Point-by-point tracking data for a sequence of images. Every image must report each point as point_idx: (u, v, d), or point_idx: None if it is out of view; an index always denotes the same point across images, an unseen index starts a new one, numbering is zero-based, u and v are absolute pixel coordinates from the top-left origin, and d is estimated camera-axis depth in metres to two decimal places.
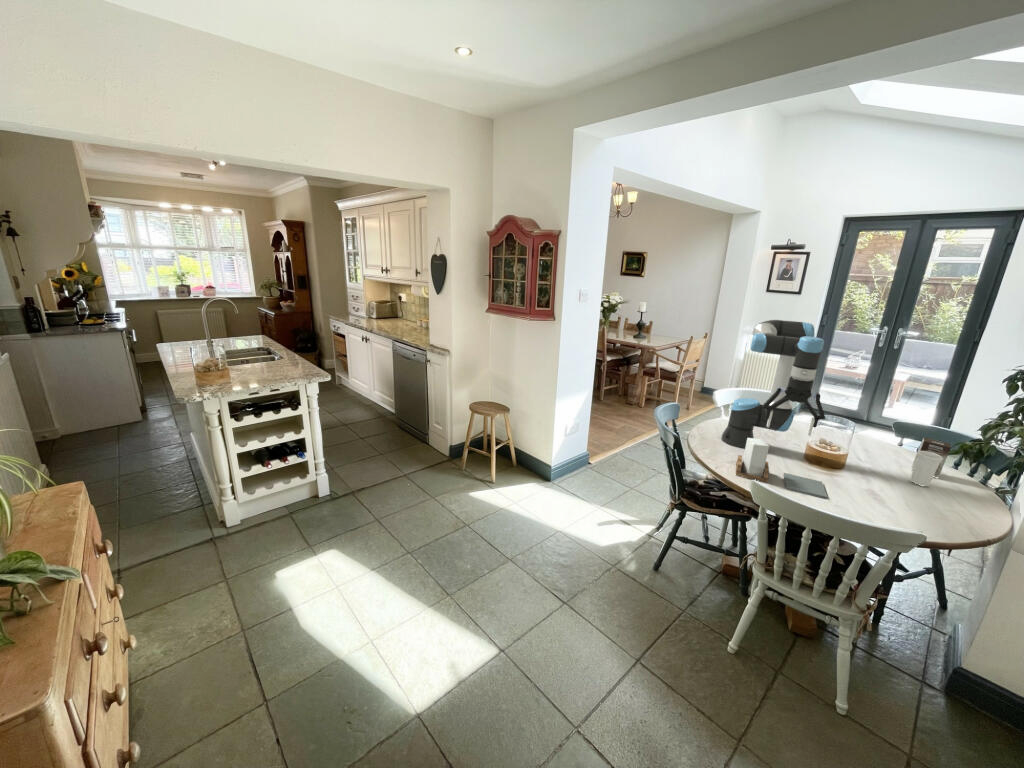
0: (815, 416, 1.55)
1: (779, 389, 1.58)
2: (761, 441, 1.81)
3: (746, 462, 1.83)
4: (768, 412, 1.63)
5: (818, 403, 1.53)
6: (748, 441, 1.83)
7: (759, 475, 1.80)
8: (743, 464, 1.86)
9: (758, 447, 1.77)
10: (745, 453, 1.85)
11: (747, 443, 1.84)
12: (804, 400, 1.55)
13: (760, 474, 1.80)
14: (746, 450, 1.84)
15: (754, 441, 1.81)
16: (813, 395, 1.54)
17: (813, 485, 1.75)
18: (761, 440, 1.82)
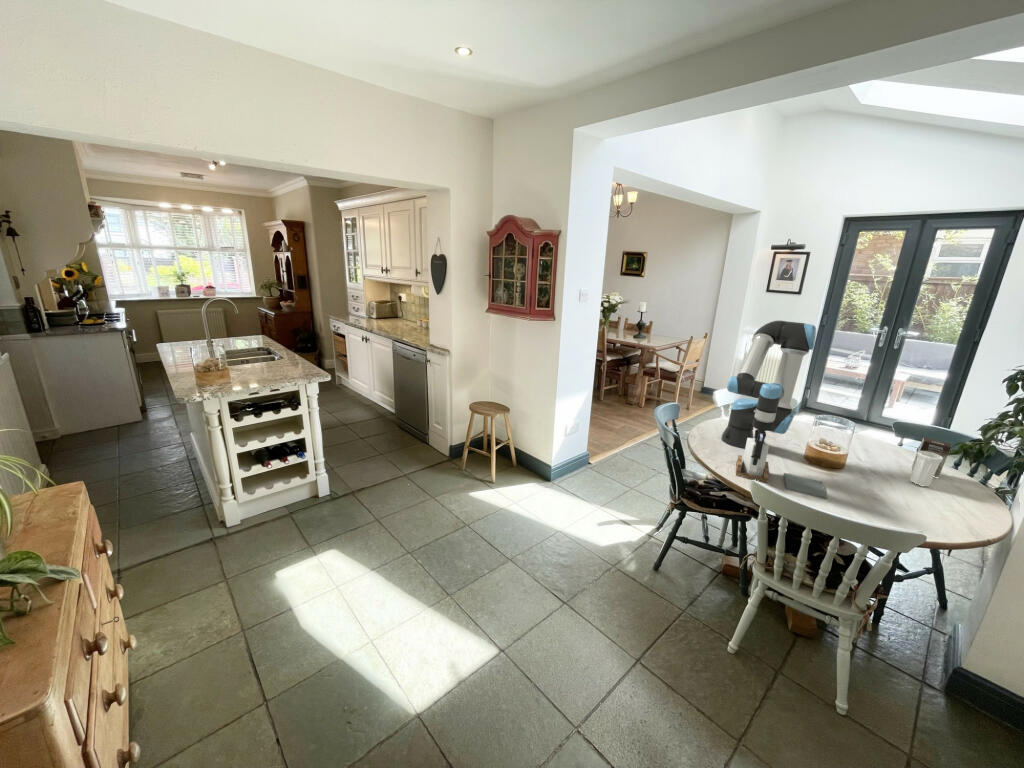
0: (753, 454, 1.78)
1: None
2: None
3: (746, 462, 1.83)
4: None
5: (756, 443, 1.75)
6: (748, 441, 1.83)
7: (759, 475, 1.80)
8: (743, 464, 1.86)
9: None
10: (745, 453, 1.85)
11: (747, 443, 1.84)
12: (755, 437, 1.79)
13: (761, 474, 1.80)
14: (746, 450, 1.84)
15: (754, 441, 1.81)
16: None
17: (813, 485, 1.75)
18: None
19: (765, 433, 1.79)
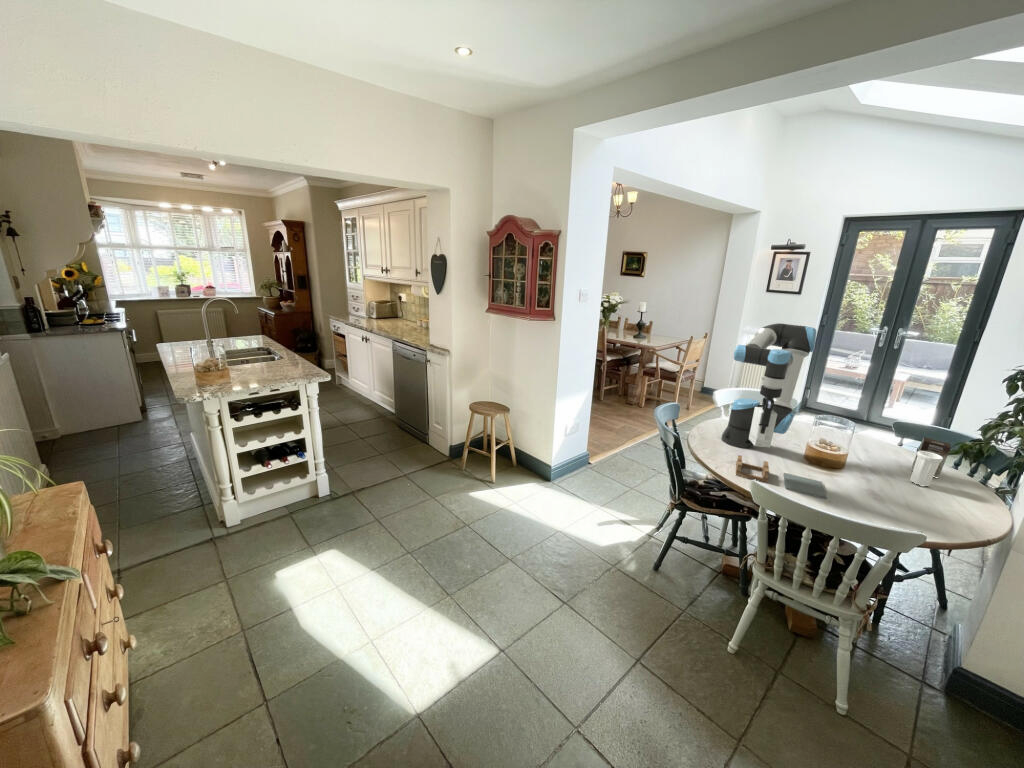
0: (761, 422, 1.73)
1: (764, 395, 1.80)
2: None
3: (753, 432, 1.79)
4: None
5: (764, 410, 1.71)
6: (756, 410, 1.79)
7: (767, 444, 1.76)
8: (750, 434, 1.82)
9: None
10: (752, 422, 1.81)
11: (755, 412, 1.80)
12: (763, 405, 1.74)
13: (768, 443, 1.76)
14: (754, 419, 1.80)
15: (762, 409, 1.77)
16: None
17: (813, 485, 1.75)
18: None
19: (773, 401, 1.75)
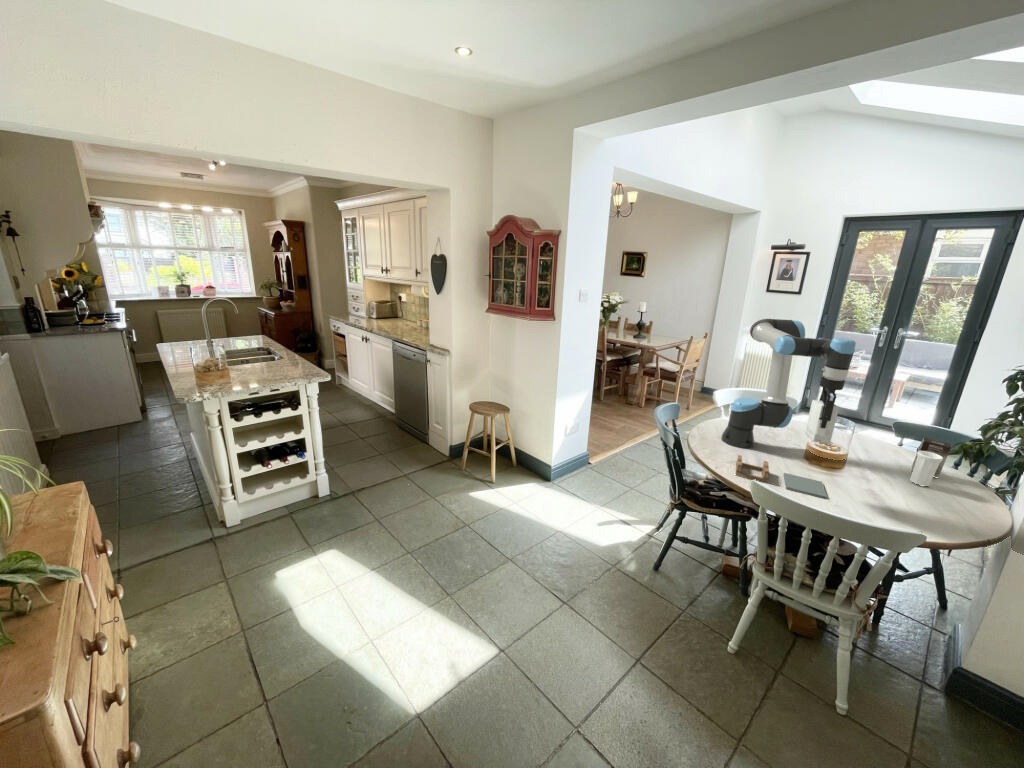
0: None
1: (823, 388, 1.69)
2: None
3: (811, 427, 1.68)
4: None
5: (826, 403, 1.60)
6: (814, 403, 1.68)
7: (827, 440, 1.65)
8: (807, 429, 1.71)
9: None
10: (810, 417, 1.70)
11: (812, 406, 1.69)
12: (823, 398, 1.63)
13: (829, 439, 1.65)
14: (811, 413, 1.69)
15: (821, 402, 1.66)
16: None
17: (813, 485, 1.75)
18: None
19: None
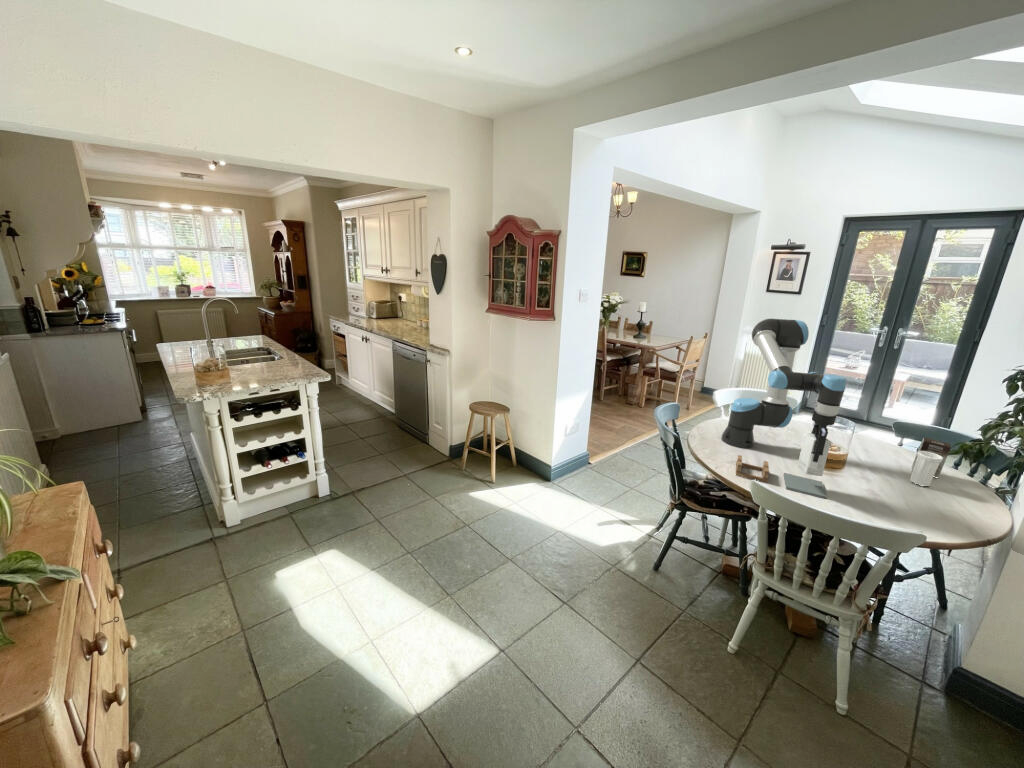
0: (814, 450, 1.66)
1: (815, 421, 1.74)
2: None
3: (804, 459, 1.72)
4: None
5: (818, 438, 1.64)
6: (806, 436, 1.72)
7: (819, 473, 1.69)
8: (800, 461, 1.75)
9: None
10: (802, 449, 1.74)
11: (805, 439, 1.73)
12: (815, 432, 1.68)
13: (821, 472, 1.69)
14: (804, 446, 1.73)
15: (813, 436, 1.70)
16: None
17: (813, 485, 1.75)
18: None
19: None
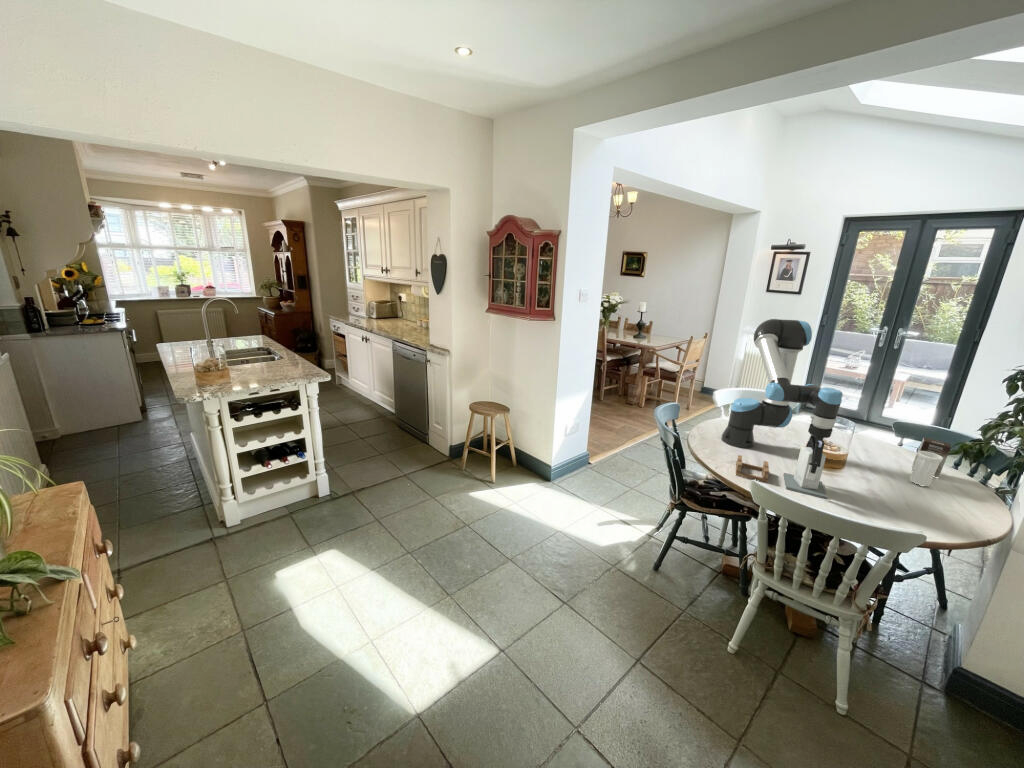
0: (811, 461, 1.66)
1: None
2: None
3: (799, 472, 1.75)
4: None
5: (815, 449, 1.65)
6: (802, 450, 1.74)
7: (814, 486, 1.71)
8: (796, 474, 1.78)
9: None
10: (799, 462, 1.76)
11: (801, 452, 1.75)
12: (812, 444, 1.69)
13: (816, 485, 1.71)
14: (800, 459, 1.75)
15: (809, 450, 1.72)
16: None
17: None
18: None
19: None
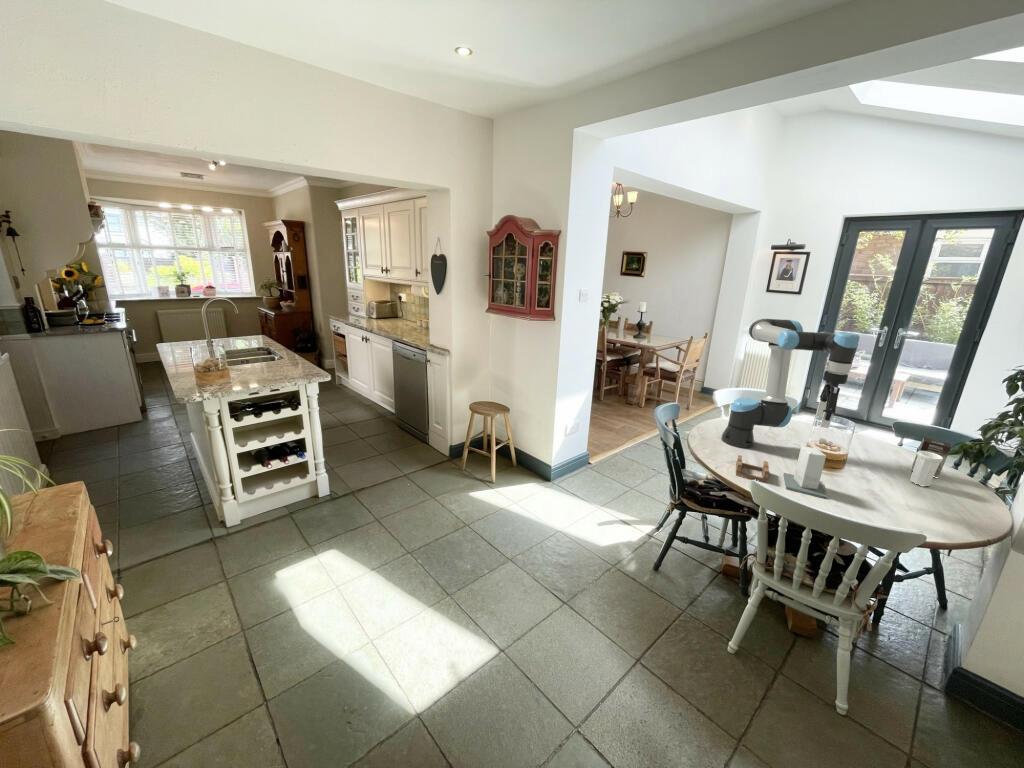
0: (826, 408, 1.61)
1: (826, 380, 1.70)
2: (817, 450, 1.72)
3: (799, 472, 1.75)
4: None
5: (829, 396, 1.60)
6: (802, 450, 1.74)
7: (814, 486, 1.71)
8: (796, 474, 1.78)
9: (814, 457, 1.68)
10: (799, 462, 1.76)
11: (801, 452, 1.75)
12: (826, 391, 1.64)
13: (816, 485, 1.71)
14: (800, 459, 1.75)
15: (809, 450, 1.72)
16: None
17: None
18: (817, 449, 1.73)
19: None
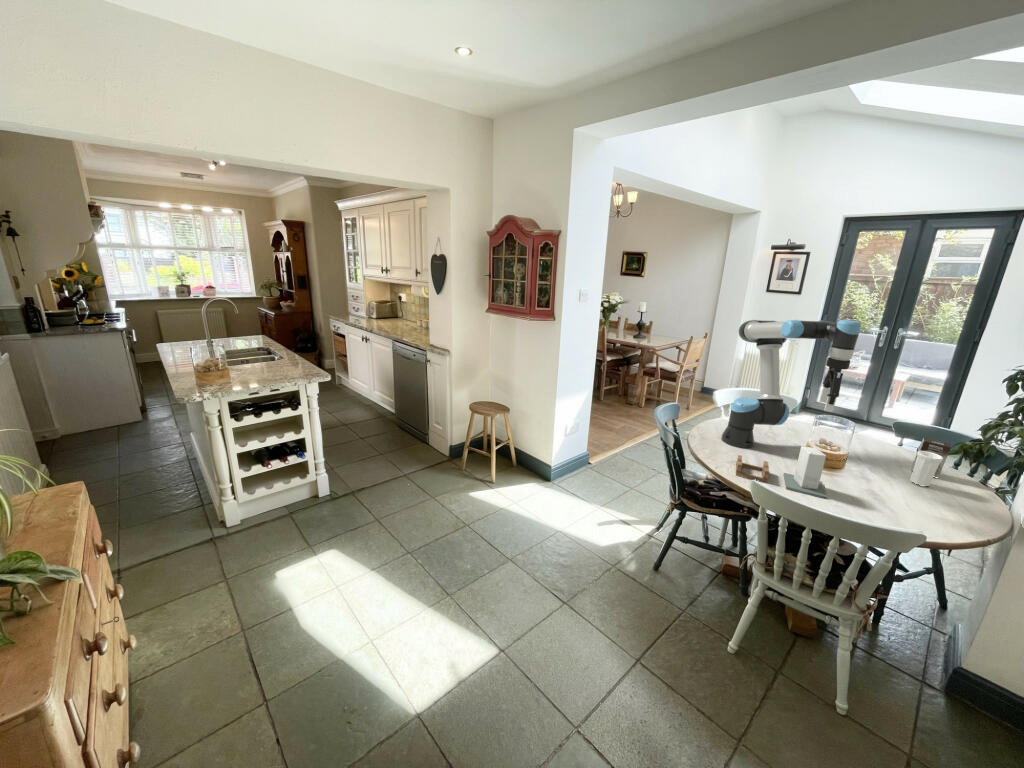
0: (829, 393, 1.69)
1: (829, 367, 1.77)
2: (817, 450, 1.72)
3: (799, 472, 1.75)
4: None
5: (833, 380, 1.67)
6: (802, 450, 1.74)
7: (814, 486, 1.71)
8: (796, 474, 1.78)
9: (814, 456, 1.68)
10: (799, 462, 1.76)
11: (801, 452, 1.75)
12: (830, 377, 1.71)
13: (816, 485, 1.71)
14: (800, 459, 1.75)
15: (809, 450, 1.72)
16: None
17: None
18: (817, 449, 1.73)
19: None
